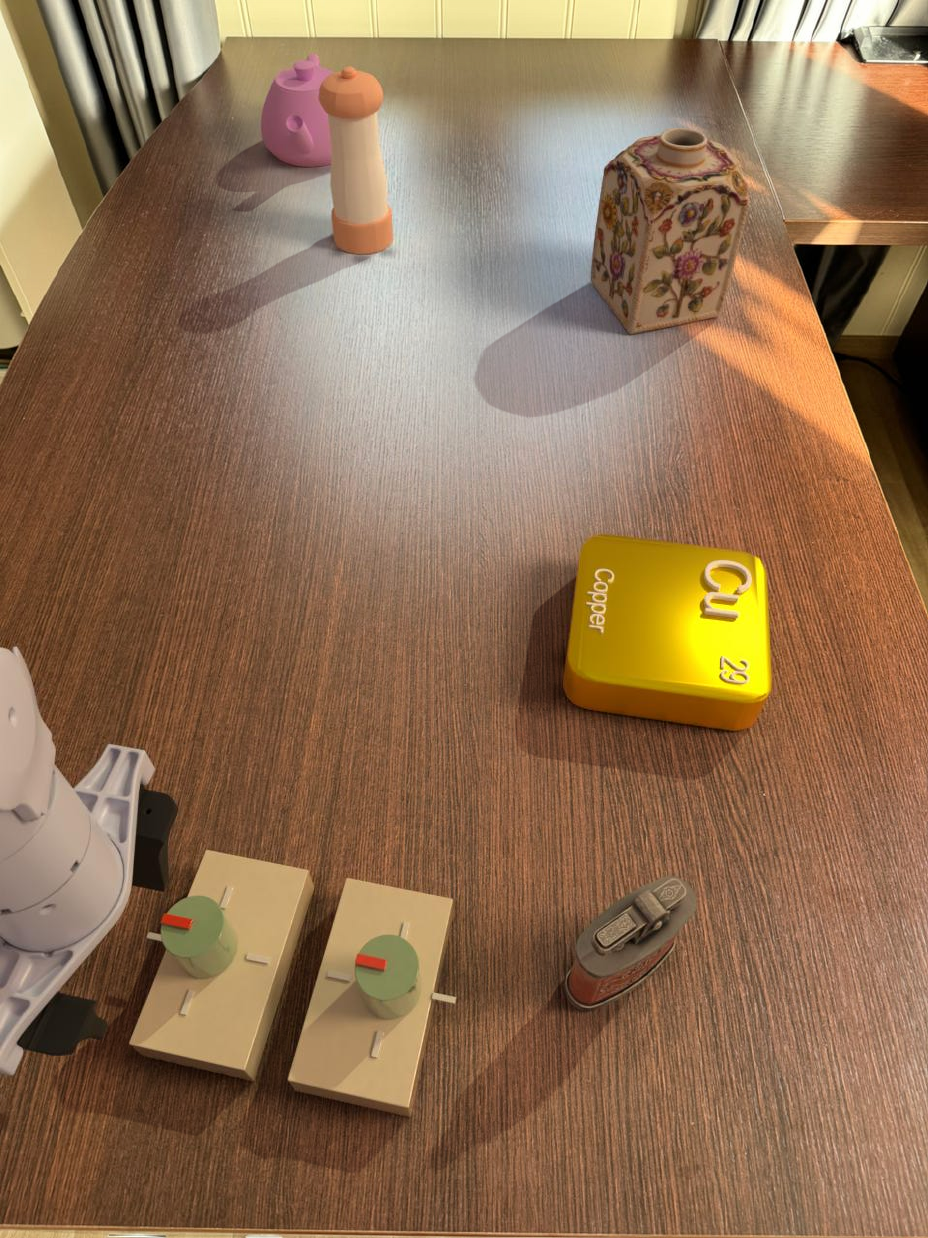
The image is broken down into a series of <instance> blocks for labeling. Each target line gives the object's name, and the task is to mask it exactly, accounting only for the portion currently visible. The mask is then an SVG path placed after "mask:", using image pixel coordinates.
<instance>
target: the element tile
mask: <svg viewBox="0 0 928 1238" xmlns="http://www.w3.org/2000/svg"><path fill="white" fill-rule="evenodd" d="M768 581H769V580H768V571H767V568H766V566H765V564H764V562H763V561H762V560H761V559H760V558H759V557H758V556H756V555H754V554H752V553H749V552H747V551H743V550H737V549H729V548H721V547H715V546H714V547H713V546H705V545H698V544H689V543H681V542H675V541H668V540H660V539H659V540H658V539H653V538H652V539H651V538H643V537H635V536H629V535H619V534H611V533H600V534H599V533H598V534H593V535H591V536H590V537H588V538H587V539H585V541H584V542H583V544H582V545H581V548H580V551H579V557H578V564H577V569H576V576H575V583H574V584H575V586H574V590H573V591H574V592H573V600H572V607H571V616H570V623H569V631H568V637H567V638H568V639H567V648H566V656H565V664H564V670H563V677H562V678H563V679H562V685H563V691H564V693H565V696H566V698H567V699H568V700H569V701H570V702H571V703H572V704H573V705H575V706H577V707H579V708H581V709H584V710H588V711H593V712H602V713H608V714H614V715H615V714H616V715H622V716H629V717H635V718H642V719H648V720H656V721H661V722H662V721H663V722H670V723H677V724H682V725H691V726H697V727H703V728H710V729H715V730H716V729H717V730H723V731H730V732H738V731H743V730H746V729H749V728H750V727H751V726H753V725H755V723H756V721H757V719H758V718H759V715H760V714H761V711H762V709H763V708H764V705H765V704H766V701H767V700H768V698H769V696H770V694H771V691H772V688H773V673H772V672H773V671H772V651H771V631H770V630H771V629H770V606H769V585H768V583H769V582H768Z"/></svg>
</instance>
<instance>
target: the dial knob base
mask: <svg viewBox="0 0 928 1238" xmlns="http://www.w3.org/2000/svg"><path fill="white" fill-rule="evenodd" d="M453 918H454V899H453V898H451V897H446V896H440V895H435V894H430V893H425V892H421V891H416V890H411V889H406V888H402V887H401V888H400V887H395V886H390V885H386V884H380V883H376V882H370V881H365V880H359V879H355V878H349V877H346V878H345V880H344V884H343V888H342V890H341V895H340V898H339V901H338V905H337V909H336V911H335V915H334V918H333V921H332V925H331V929H330V932H329V935H328V939H327V942H326V946H325V950H324V952H323V956H322V960H321V963H320V967H319V970H318V974H317V977H316V979H315V983H314V987H313V990H312V995H311V998H310V1000H309V1003H308V1004H309V1005H308V1008H307V1011H306V1015H305V1017H304V1022H303V1024H302V1028H301V1032H300V1035H299V1038H298V1042H297V1045H296V1049H295V1052H294V1056H293V1060H292V1062H291V1066H290V1069H289V1073H288V1076H287V1081H288V1083H289V1084H290V1086H291V1087H292V1088H293V1089H294V1091H295V1092H299V1093H303V1094H308V1095H312V1096H316V1097H320V1098H326V1099H330V1100H333V1101H338V1102H343V1103H347V1104H352V1105H356V1106H361V1107H364V1108H369V1109H372V1110H373V1109H374V1110H377V1111H380V1112H381V1111H382V1112H386V1113H390V1114H395V1115H399V1116H403V1117H407V1118H411V1117H412V1114H413V1109H414V1104H415V1099H416V1095H417V1090H418V1086H419V1080H420V1076H421V1071H422V1067H423V1062H424V1057H425V1052H426V1047H427V1043H428V1038H429V1033H430V1029H431V1028H430V1027H431V1023H432V1019H433V1014H434V1010H435V1006H436V1005H435V1004H436V1001H438V1002H443V1003H447V1004H453V1005H456V1001H457V996H452V995H448V994H443V993H438V990H439V985H440V982H441V977H442V971H443V967H444V963H445V962H444V961H445V958H446V952H447V947H448V942H449V938H450V933H451V929H452V924H453ZM381 935H396V936H399V937H402V938H404V939H405V940H407V941H408V942H409V943H410V944H411V945H412V946H413V948H414V949H415V951H416V953H417V956H418V960H419V967H420V975H421V985H422V987H421V994H420V998H419V1000H418V1002H417V1004H416V1005H415V1006H414V1008H413V1009H412V1010H411V1011H410V1012H409V1013H407V1014H406V1015H404V1016H402V1017H399V1018H396V1019H384V1018H380V1017H378V1016H376V1015H374V1014H373V1013H371V1012H370V1011H369V1010H368V1008H367V1007H366V1006H365V1004H364V1002H363V999H362V996H361V993H360V990H359V987H358V983H357V980H356V977H355V960H356V957H357V954H359V952H360V950H361V949H362V947H363V946H364V945H365V944H366V943H367V942H368V941H370V940H371V939H373V938H375V937H378V936H381Z"/></svg>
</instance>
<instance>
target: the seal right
mask: <svg viewBox="0 0 928 1238" xmlns="http://www.w3.org/2000/svg"><path fill="white" fill-rule="evenodd" d="M355 977H356V980H357V983H358V987H359V990H360V993H361V996H362V999H363V1002H364V1004H365V1006H366V1007H367V1008H368V1010H369V1011H370V1012H371V1013H373V1014H374V1015H376V1016H378V1017H380V1018H384V1019H396V1018H399V1017H402V1016H404V1015H406V1014H407V1013H409V1012H410V1011H411V1010H412V1009H413V1008H414V1006H415V1005H416V1004H417V1002H418V1000H419V998H420V994H421V987H422V985H421V975H420V967H419V960H418V956H417V953H416V951H415V949H414V948H413V946H412V945H411V944H410V943H409V942H408V941H407V940H405V939H404V938H402V937H399V936H396V935H381V936H378V937H375V938H373V939H371V940H370V941H368V942H367V943H366V944H365V945H364V946H363V947H362V949H361V950H360V952H359V954H357V957H356V960H355Z"/></svg>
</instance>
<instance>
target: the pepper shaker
mask: <svg viewBox="0 0 928 1238" xmlns="http://www.w3.org/2000/svg"><path fill="white" fill-rule="evenodd" d="M333 73H334V74H332V75H330V76H328V77H326V78H325V79H324V80H323V82H322V84H321V86H320V89H319V98H318V99H319V102H320V104H321V106H322V108H323V109H324V111H325V112H326V113H328V121H329V130H330V140H331V150H332V156H331V165H330V192H331V199H332V206H333V208H332V209H331V215H330V217H331V224H332V225H331V226H332V235H333V241H334V244H335V245H336V248H339V249H340V250H341V251H344V252H346V253H349V254H355V255H370V254H376V253H378V252H381V251H383V250H386V249H387V248H388V247H389V246H391V245H392V243H393V241H394V230H393V216H392V215H393V213H392V207H391V206H390V204H388V203H389V202H388V200H389V199H388V179H387V174H386V170H385V169H386V168H385V165H384V161H383V156H382V151H381V146H380V134H379V119H378V111H379V110H380V108H381V106H382V104H383V100H384V91H383V88H382V85H381V84H380V82H379V81H378V80H377V78H376V77H375V76H374V75H372V74H370V73H368V72H364V71H362V70H359V69H358V70H357V69H355V67H353V66H345V67H343V68H342V69H341V70H340V71H337V72H336V71H335V72H333Z"/></svg>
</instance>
